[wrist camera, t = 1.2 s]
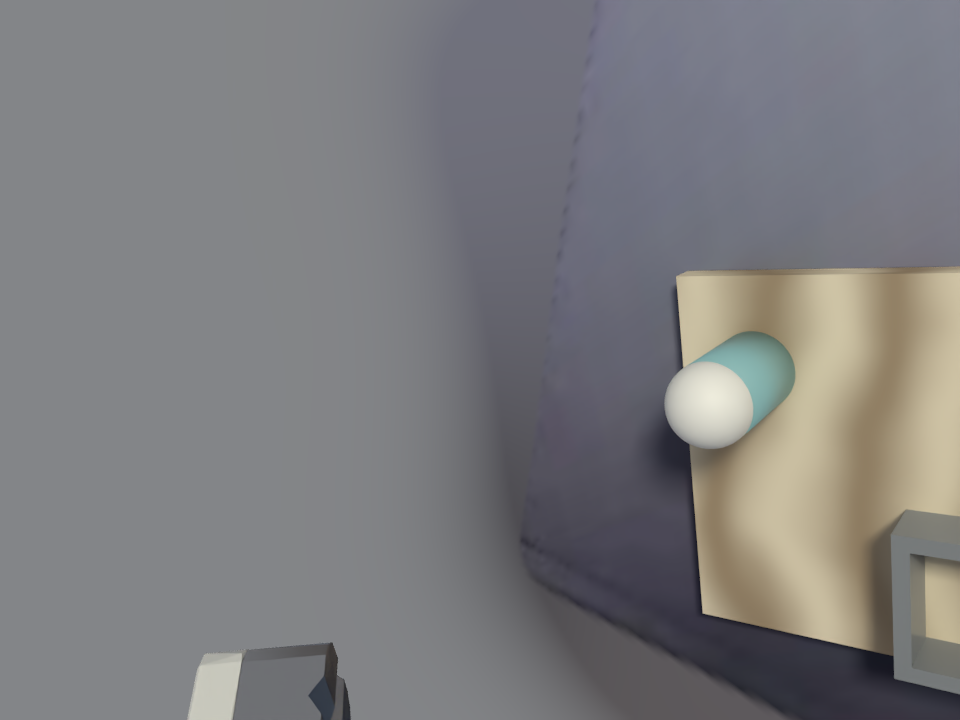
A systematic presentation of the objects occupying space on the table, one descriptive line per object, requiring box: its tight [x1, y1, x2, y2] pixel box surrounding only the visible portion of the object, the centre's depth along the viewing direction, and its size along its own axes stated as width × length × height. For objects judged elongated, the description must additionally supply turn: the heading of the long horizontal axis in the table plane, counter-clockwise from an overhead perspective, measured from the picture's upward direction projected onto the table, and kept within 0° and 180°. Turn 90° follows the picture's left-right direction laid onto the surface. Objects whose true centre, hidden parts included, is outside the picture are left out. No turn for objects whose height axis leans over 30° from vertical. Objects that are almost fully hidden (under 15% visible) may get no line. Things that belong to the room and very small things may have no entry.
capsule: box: [664, 331, 795, 449], centre depth 45 cm, size 4×4×8 cm
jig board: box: [676, 267, 960, 656], centre depth 46 cm, size 20×20×2 cm
